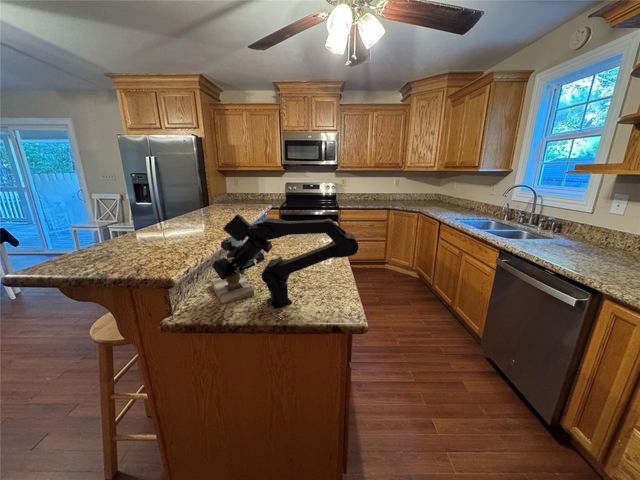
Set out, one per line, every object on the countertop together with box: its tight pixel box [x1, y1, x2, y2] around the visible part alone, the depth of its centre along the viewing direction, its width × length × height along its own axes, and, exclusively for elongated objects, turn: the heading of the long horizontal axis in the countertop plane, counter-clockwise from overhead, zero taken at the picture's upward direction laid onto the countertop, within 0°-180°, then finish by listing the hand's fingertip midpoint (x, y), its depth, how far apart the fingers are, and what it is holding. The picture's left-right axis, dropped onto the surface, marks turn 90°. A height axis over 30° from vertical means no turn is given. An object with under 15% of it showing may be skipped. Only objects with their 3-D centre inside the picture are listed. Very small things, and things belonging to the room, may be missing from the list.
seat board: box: [210, 274, 255, 305], centre depth 91 cm, size 16×11×2 cm
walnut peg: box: [226, 257, 240, 292], centre depth 88 cm, size 5×5×12 cm
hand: (229, 274), depth 88 cm, fingers closed on walnut peg, 5 cm apart
